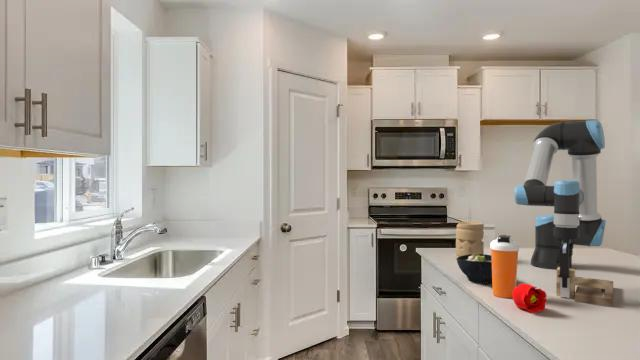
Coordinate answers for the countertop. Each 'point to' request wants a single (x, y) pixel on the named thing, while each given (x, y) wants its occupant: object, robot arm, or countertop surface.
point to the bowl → (476, 267)
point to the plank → (594, 295)
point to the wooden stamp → (581, 283)
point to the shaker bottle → (504, 265)
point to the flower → (529, 298)
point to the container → (469, 238)
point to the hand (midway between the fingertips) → (565, 294)
